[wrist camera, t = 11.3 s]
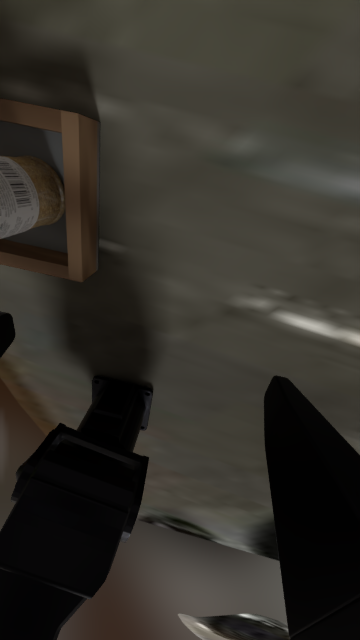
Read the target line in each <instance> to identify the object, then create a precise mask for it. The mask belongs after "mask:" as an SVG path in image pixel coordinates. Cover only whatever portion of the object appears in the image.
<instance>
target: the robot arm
mask: <svg viewBox="0 0 360 640" xmlns="http://www.w3.org/2000/svg"><path fill="white" fill-rule="evenodd" d="M14 338H15V329H14V323H13V318H12V316H11V314H9V313H5V312H1V311H0V358H1V357H2V355H3V354H4V353H5V351H6V350H7V349H8V347H9V346H10V345H11V343H12V342H13V340H14ZM97 380H98V381H97ZM147 392H148V393H147ZM152 396H153V390H152V389H151V388H147V387H143V386H139V385H135V384H131V383H126V382H122V381H118V380H114V379H109V378H105V377H101V376H95V377H94V378H93V380H92V404H91V406H90V408H89V409H88V411H87V413H86V415H85V416H84V418H83V420H82V422H81V423H80V425H79V427H78V429H77V430H74V429H72V428H69V427H67V426H66V425H65V424H62V423H59V425H58V426H57V427H56V428H55V430H54V429H53V430H52V431H51V432H49V434H48V435H47V437H46V438H45V440H44V441H43V442H42V444H41V445H40V446H39V447H38V449H37V450H36V451H35V452H34V453H33V454H32V455H31V456H30V457H29V458H28V459H27V460H26V461H25V462H24V463H23V464H22V465H21V466H20V467H19V469H18V470H17V472H16V479H17V483H16V485H15V489H14V491H13V494H12V497H11V502H14V503H16V504H15V505H14V507H13V509H12V511H11V513H10V515H9V517H8V519H7V520H6V522H5V524H4V526H3V528H2V529H1V531H0V640H57V637H58V634H59V632H60V630H61V628H62V626H63V625H64V624H65V623H66V622H67V621H68V620H69V618H70V617H71V616H72V615H73V614H74V613H75V612H76V610H77V609H78V608H79V607H80V606H81V605H82V604H83V603H84V601H85V600H86V599H87V598H88V599H91V598H92V597H93V596H94V595H95V593H96V592H97V591H98V590H99V588H100V587H101V586H102V584H103V583H104V582H105V580H106V578H107V575H108V573H109V571H110V568H111V565H112V562H113V560H114V557H115V554H116V551H117V548H118V545H119V542H120V541H121V542H124V543H125V542H126V541H127V540H128V538H129V536H130V534H131V531H132V529H133V526H134V524H135V521H136V518H137V515H138V512H139V508H140V505H141V501H142V496H143V490H144V484H145V479H146V473H147V467H148V461H149V457H146V456H141V455H138V454H136V453H133V450H134V447H135V443H136V440H137V437H138V434H139V431H140V430H146V429H147V426H148V420H149V414H150V408H151V402H152ZM264 437H265V451H266V459H267V467H268V474H269V482H270V490H271V498H272V506H273V514H274V521H275V529H276V537H277V545H278V553H279V561H280V568H281V576H282V584H283V592H284V599H285V607H286V615H287V623H288V631H289V637H290V638H291V639H290V640H360V455H359V454H358V453H357V452H356V451H355V450H354V448H353V447H352V446H351V445H350V444H349V443H348V442H347V441H346V440H345V439H344V438H343V437H342V436H341V435H340V434H339V432H338V431H337V430H336V429H335V428H334V427H333V426H332V425H331V424H330V423H329V422H328V421H327V420H326V419H325V417H324V416H323V415H322V414H321V413H320V412H319V411H318V410H317V409H316V408H315V407H314V406H313V405H312V404H311V403H310V401H309V400H308V399H307V398H306V397H305V396H304V395H303V394H302V393H301V392H300V391H299V390H298V389H297V388H296V386H295V385H294V384H293V383H292V382H291V381H290V380H289V379H288V378H286V377H281V376H277V375H276V376H274V377H273V378H272V380H271V382H270V384H269V386H268V388H267V390H266V393H265V396H264Z"/></svg>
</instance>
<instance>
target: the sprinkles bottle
mask: <svg viewBox="0 0 360 640" xmlns="http://www.w3.org/2000/svg"><path fill="white" fill-rule="evenodd" d="M64 210H65V190H64V187H63V184H62V183H61V179H60V178H59V176H58V175H57V173H56V172H55V171H54V169H53V168H52V167H51V166H49V165H48V164H47V163H46V162H44V161H42V160H41V159H38V158H36V157H33V156H28V155H26V156H18V157H10V156H0V239H2V238H5V237H9V236H12V235H15V234H19V233H22V232H25V231H27V230H29V229H32V228H35V227H38V226H41V225H50V224H53V223H55V222H57V221H58V220H59V219H60V218H61V217H62V215H63V213H64Z"/></svg>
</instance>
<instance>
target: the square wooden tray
mask: <svg viewBox="0 0 360 640" xmlns="http://www.w3.org/2000/svg"><path fill="white" fill-rule="evenodd" d="M26 155H28V156H33V157H36V158H38V159H41V160H42V161H44V162H46V163H47V164H48V165H49V166H51V167H52V168H53V169H54V171H55V172H56V173H57V175H58V176H59V178H60V179H61V183H62V184H63V187H64V190H65V210H64V213H63V215H62V217H61V218H60V219H59V220H58V221H57V222H55V223H53V224H50V225H41V226H38V227H35V228H32V229H29V230H27V231H25V232H22V233H19V234H15V235H12V236H9V237H5V238H2V239H0V264H2V265H6V266H11V267H15V268H20V269H24V270H29V271H33V272H38V273H42V274H47V275H51V276H55V277H60V278H64V279H69V280H73V281H78V282H83V281H84V280H86V279H87V278H88V277H90V276H91V275H92V274H93V273H95V272H96V271H97V270H98V251H99V172H100V122H98V121H96V120H93V119H91V118H88V117H86V116H83V115H81V114H78V113H73V112H68V111H62V110H57V109H52V108H47V107H42V106H37V105H32V104H27V103H22V102H17V101H12V100H7V99H2V98H0V156H10V157H18V156H26Z"/></svg>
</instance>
